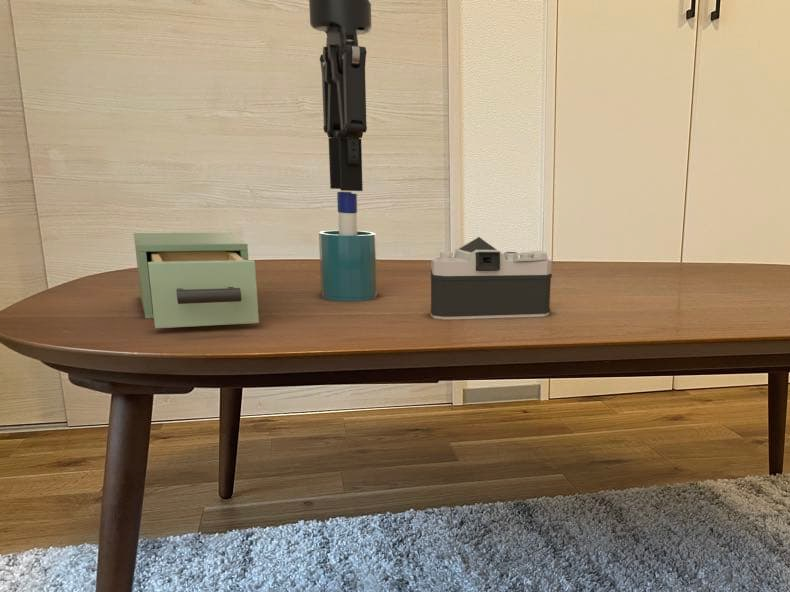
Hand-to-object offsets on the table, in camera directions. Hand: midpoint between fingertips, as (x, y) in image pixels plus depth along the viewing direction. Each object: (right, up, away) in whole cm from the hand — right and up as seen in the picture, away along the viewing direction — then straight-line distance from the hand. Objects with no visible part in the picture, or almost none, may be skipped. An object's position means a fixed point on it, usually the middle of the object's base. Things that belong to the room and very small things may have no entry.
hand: (346, 189), depth 104 cm
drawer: (-12, -19, -17) cm, 28 cm away
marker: (-1, -13, +4) cm, 14 cm away
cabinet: (-17, -17, -6) cm, 25 cm away
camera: (+19, -17, -3) cm, 26 cm away
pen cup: (-1, -14, +4) cm, 15 cm away
